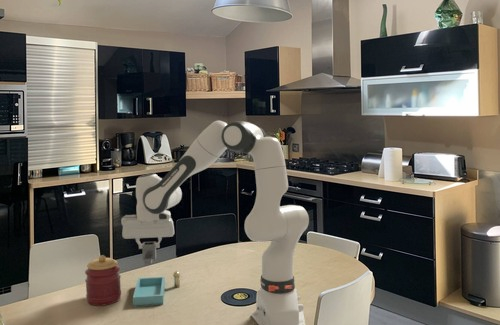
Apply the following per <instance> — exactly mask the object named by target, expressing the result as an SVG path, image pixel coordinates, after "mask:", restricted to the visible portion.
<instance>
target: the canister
mask: <svg viewBox="0 0 500 325" xmlns="http://www.w3.org/2000/svg"><path fill="white" fill-rule="evenodd" d="M118 264H119V263H118V261H117V260H115V259H113V258H111V257H106V256H105V255H104V254H102V255H99V256H98V258H96V259H92V260H91V262H89V263H88V264H87V265H86V266H87V268H86V270H85V271H84V274H85V275H86V278H85V285H86V286H85V288H86V289H85V290H86V294H85V296H86V302H87V303H88V304H89V305H92V306H106V305H111V304H113V303H114V304H115V303H117V302H118V301H119V300H120V299H121V295H122V290H121V275H120V270H121V267H120V266H119V265H118Z"/></svg>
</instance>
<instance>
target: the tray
mask: <svg viewBox="0 0 500 325" xmlns="http://www.w3.org/2000/svg"><path fill="white" fill-rule="evenodd" d="M165 289H166V277H165V276H154V277H153V276H152V277H151V276H150V277H138V278H137V280H136V284H135V287H134V292H133V296H132V306H133V307H135V308H136V307H148V306H162V305H164V299H165V298H164V297H165Z"/></svg>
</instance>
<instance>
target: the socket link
mask: <svg viewBox="0 0 500 325" xmlns="http://www.w3.org/2000/svg"><path fill="white" fill-rule="evenodd" d="M155 243H157V241H143V242H142V244H143V245H142V249H141V250H142V261H143V262H144V265H145V266H146V265H149V266H150V265H152V263H153V261H155V260H157V248H155Z"/></svg>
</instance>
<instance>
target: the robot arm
mask: <svg viewBox="0 0 500 325" xmlns="http://www.w3.org/2000/svg"><path fill="white" fill-rule="evenodd" d="M226 150H230V151H232V152H235V153H242V154H249V155H250V156H251V157H252V159H253V160H252V161H253V166H254V174H255V176H254V177H255V184H256V196H255V200H254V205H253V208H252V209H251V211H250V213H249V214H248V215H247V216H246V218H245V220H244V232H245V234H246V236H247V237H248V239H250V241H253V242H255V243H256V242H259V243H262V242H263V243H266V242H270V241H271V242H270V243H269V246H268V247H266V249H265V250H264V251H263V253H262V255H261V276H260V289H259V290H258V291H257V292H256V301H255V303H256V305H255V310H254V311H253V310H252V311H251V317H252V319H253V320H254V321H255V322H256V324H258V325H306V320H305V314H304V304H303V303H299V301H301V296H298V290H297V288H295V287H296V282H295V281H296V280H295V276H294V256H295V252H296V250H297V249H296V248H297V246H298V243H299V240H300V238H301V236H302V235H303V233H304V232H305V231H306V230H307V229H308V226H309V224H310V217H309V214H308V212H307V210H306V209H305V208H304V207H303V206H301V205H295V204H287V205H282V206H281V200H282V197H283V195H284V194H286V193H287V191H288V189H289V180H288V173H287V167H286V165H287V164H286V159H285V156H284V150H283V148H282V144H281V142H280V141H279V139H278V138H275V137H272V136H266V133H265V130H264V129H263V128H262V127H261V126H259V125H257V124H255V123H251V122H249V121H242V120H240V121H239V120H236V121H231V122H229V123H227V122H225V121H222V120H214V121H213V122H212V123H210V124H209V125H208V126H206V128H205V129H203V131H201V133H199V135H198V136H197V137H196V138H195V140H194V141H193V142H192V144H190V146H189V147H188V148H187V150H186V151H185V153H184V154H183V155H182V156H181V157H180V158H179V160H178V162H177V163H176V164H175V165H174V166H173V167H172V168H171V169H170V170H169V171H168V172H167V173H166V174H165V176H164V177H160V176H158V174H156V173H153V172H152V173H147V174H143V175H140V176H138V178H136V182H135V198H136V205H135V206H136V210H135V211H136V214H125V215H124V216H122V217H121V219H120V220H121V222H120V223H121V226H122V232H121V234H122V235H121V236H122V238H123V239H124V240H125V239H126V240H127V239H130V240H131V239H135V242H136V243H137V245H138V250H142V245H143V243H141V241H140V239H149V238H151V239H152V238H157V240H158V241H157V242H156V243H155V248H156V249H159V248H160V243H161V241H162V239H163V238H170V237H174V235H175V225H174V221H173V218H172V216H171V215H172V214H171V211H170V210H169V209H170V208H173V207H175V206H176V205H178V204H179V203H180V202H181V200H182V198H183V192H182V189H181V187H180V186H181V185H182V184H183V183H184V182H185V181H186V180H187V179H188V178H190V177H192V176H193V175H195V174H197V173H200V172H202V171H204V170H207V169H208V168H210V166H213V164H214V163H215V162H216V161H218V159H219V158H220V157H221V156H222V155H223V153H224V152H225V151H226Z"/></svg>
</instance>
